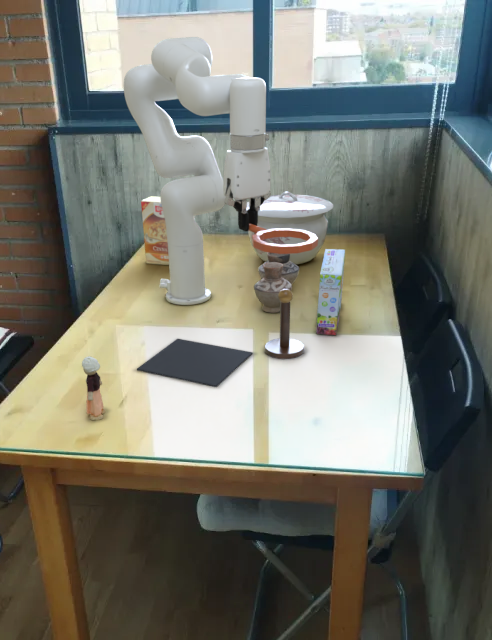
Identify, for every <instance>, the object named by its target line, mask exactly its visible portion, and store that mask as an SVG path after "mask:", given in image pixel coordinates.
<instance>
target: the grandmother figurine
mask: <svg viewBox="0 0 492 640" xmlns="http://www.w3.org/2000/svg"><path fill="white" fill-rule="evenodd" d="M81 367H82V370H83V373H84V374H85V375H87V376H86V379H85V382H86V390H87V391H86V402H85V408H86V409H85V410H86V414H87V415H89V418H88V419H89V420H91V421H98V420H103V419H104V414H105V413H106V409H105V406H104V402H103V396H102V394H101V386H102V385H103V380H102V379H101V376H100V375H99V373H98V371H99V370H100V368H101V364H100V363H99V361H98V359H97V358H95V357H93V356H90V355H89V356H86V357H84V358H83V359H82V361H81Z"/></svg>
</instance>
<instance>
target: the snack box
mask: <svg viewBox="0 0 492 640" xmlns="http://www.w3.org/2000/svg"><path fill="white" fill-rule="evenodd" d="M345 260H346V249H340V248H339V249H338V248H325V249H324V253H323V259H322V263H321V267H320V274H319V285H318V296H317V297H318V298H317V299H318V300H317V310H316V311H317V314H316V326H315V327H316V329H315V334H316V335H325V336H326V335H328V336H337V333H338V328H339V321H340V314H341V309H342V299H343V289H344V288H343V287H344V277H345Z"/></svg>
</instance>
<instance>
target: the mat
mask: <svg viewBox="0 0 492 640" xmlns="http://www.w3.org/2000/svg"><path fill="white" fill-rule="evenodd" d="M252 355H253V351H247V350H242V349H237V348H231V347H226V346H221V345H219V346H218V345H215V344H208V343H203V342H200V341H194V340H193V341H192V340H188V339H182V338H176V339H175V340H173V342H171V343H170V344H168V345H167V346H165V347H164V348H163V349H162V350H160V351H158V352H157V353H156V354H155V355H153V356H152V357H150V358H149V359H148V360H146V361H145V362H144V363H142V364H141V365H140V366H138V367H137V368H136V371H138V372H143V373H148V374H153V375H157V376H162V377H166V378H171V379H177V380H181V381H186V382H191V383H195V384H198V385H199V384H200V385H204V386H208V387H214V388H217V387H218V386H220V385H221V384H222V383H223V382H224V381H225V380H226V379H227V378H228V377H229V376H230V375H232V373H233V372H235V371H236V370H237V369H238V368H239V367H241V365H242V364H243V363H245V361H246V360H248V359H249V358H250V357H251V356H252Z"/></svg>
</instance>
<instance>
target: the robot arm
mask: <svg viewBox="0 0 492 640" xmlns="http://www.w3.org/2000/svg"><path fill="white" fill-rule="evenodd" d="M150 60H151V63H148V64H140V65H136V66H134V67H132V68H130V69H129V70H128V71H127V72H126V73H125V75H124V78H123V95H124V99H125V103H126V106H127V108H128V111H129V113H130V114H131V116H132V118H133V120H134V122H136V123H135V124H137V126H138V128H139V130H140V131H141V134H142V136H143V139H144V142H145V145H146V148H147V151H148V153H149V156H150V159H151V162H152V164H153V167H154V169H155V171H156V173H157V175H158V176H159V177H161V178H164V179H173V178H174V179H173V180H170V181H168V182H167V183H165V184H164V185H163V186H162V188H161V190H160V193H159V194H160V196H159V197H160V199H161V205H162V209H163V213H164V217H165V222H166V231H167V243H168V255H169V265H168V269H169V279H168V278H161V279H160V281H159V285H158V286H159V289H166V290H167V292H166V293H165V300H166V301H167V302H169V303H170V304H174V305H180V306H191V305H192V306H193V305H199V304H202V303H205V302H207V301H208V300H210V299H211V297H212V292H211V290H210V289H208V288H207V287H206V277H205V276H206V275H205V255H204V254H205V253H204V252H205V251H204V233H203V231H202V228H201V226H200V225H199V224H198V223H197V222H196V219H195V220H194V217H196V216H200V215H204V214H210V213H214V212H218V211H221V210H222V209H223V208H224V207H225V206H230V207H233V209H234V210H235V211H236V212H237V225H238V229H239V230H241V231H243V232H248V231H249V223H250V224H253V225H256V226H257V224H258V211H259V210H260V206H261V205H262V204H263V202H264V201H265V200H267V199H268V198H270V197H271V196H272V192H271V185H272V179H271V178H272V177H271V176H272V175H271V162H270V154H269V149H268V147H266V145H267V143H266V142H268V141H269V140H270V135H269V134H268V133H267V132H266V131H267V130H266V129H267V128H266V127H267V126H266V125H267V121H266V120H267V85H266V82H265V80H264V79H263V78H261V77H251V76H248V75H245V74H241V73H233V74H232V73H231V74H218V75H211V71H212V70H211V68H212V65H213V53H212V49H211V46H210V44H209V43H208V42H207V41H206V40H205V39H204V38H201V37H198V36H188V37H186V36H185V37H171V38H165V39H162V40H160V41H159V42H157V43H156V44H155V46H154V47H153V49H152V51H151V55H150ZM172 100H178V101H179V103H180V104H181V105H182V107H184V108H185V109H187V110H188V111H189V112H191V113H193V114H194V115H197V116H201V117H210V116H217V115H226V114H229V140H230V141H229V148H230V149H228V150H226V153H225V159H224V167H223V175H222V173H221V170H220V168H219V165H218V162H217V159H216V156H215V154H214V151H213V149H212V146H211V144H210V143H209V141H208V140H207V139H206V138H205V137H203V136H201V135H187V136H181V135H179V134H178V132H177V129H176V126H175V124H174V121H173V118H171V116H170V115H169V114H168V113H167V112H166V111H165V109H163V108H162V107H160V106H159V105H158V104H157V103H156V102H162V101H172ZM181 177H182V178H181ZM175 178H176V179H175ZM247 200H248V201H247ZM247 202H249V209H247Z"/></svg>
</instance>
